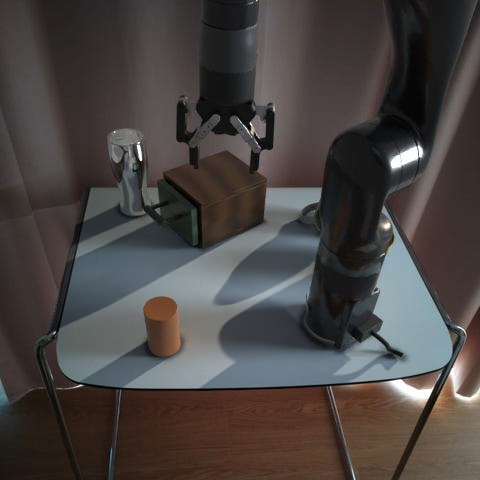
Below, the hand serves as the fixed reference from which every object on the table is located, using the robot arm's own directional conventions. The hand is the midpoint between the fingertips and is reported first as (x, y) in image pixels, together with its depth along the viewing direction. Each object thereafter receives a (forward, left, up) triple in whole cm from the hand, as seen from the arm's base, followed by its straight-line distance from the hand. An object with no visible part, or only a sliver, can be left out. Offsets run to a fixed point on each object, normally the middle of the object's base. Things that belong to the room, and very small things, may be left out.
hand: (224, 169), depth 77 cm
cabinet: (+11, -6, -18) cm, 21 cm away
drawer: (+11, -1, -17) cm, 20 cm away
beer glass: (+23, +5, -18) cm, 29 cm away
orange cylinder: (-11, +19, -18) cm, 29 cm away
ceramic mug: (-3, -23, -18) cm, 29 cm away
